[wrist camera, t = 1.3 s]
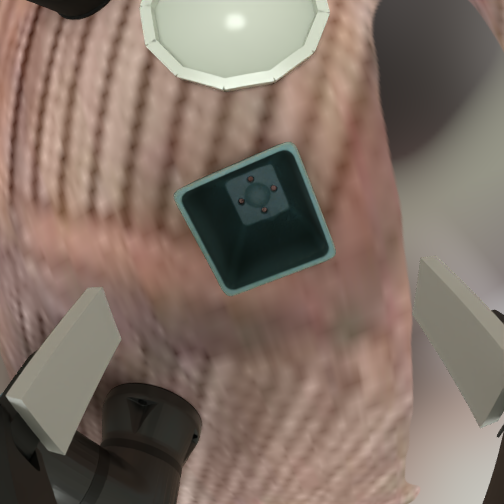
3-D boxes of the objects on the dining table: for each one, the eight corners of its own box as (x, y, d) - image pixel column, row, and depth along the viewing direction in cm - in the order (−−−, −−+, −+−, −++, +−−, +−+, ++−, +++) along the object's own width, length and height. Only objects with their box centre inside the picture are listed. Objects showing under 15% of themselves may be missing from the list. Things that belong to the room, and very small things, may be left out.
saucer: (223, 124, 28) (221, 124, 26) (117, 16, 23) (109, 10, 21) (356, 26, 23) (363, 20, 21) (244, -76, 19) (244, -86, 17)
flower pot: (233, 252, 32) (226, 299, 24) (194, 172, 29) (170, 193, 21) (317, 218, 31) (338, 256, 23) (282, 133, 28) (293, 139, 20)
